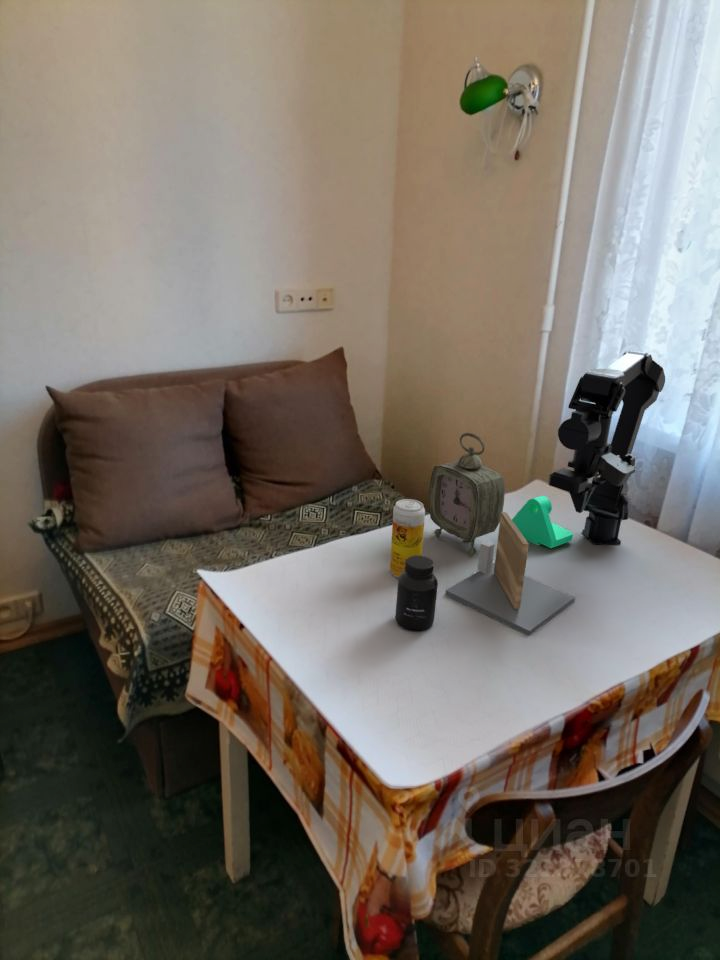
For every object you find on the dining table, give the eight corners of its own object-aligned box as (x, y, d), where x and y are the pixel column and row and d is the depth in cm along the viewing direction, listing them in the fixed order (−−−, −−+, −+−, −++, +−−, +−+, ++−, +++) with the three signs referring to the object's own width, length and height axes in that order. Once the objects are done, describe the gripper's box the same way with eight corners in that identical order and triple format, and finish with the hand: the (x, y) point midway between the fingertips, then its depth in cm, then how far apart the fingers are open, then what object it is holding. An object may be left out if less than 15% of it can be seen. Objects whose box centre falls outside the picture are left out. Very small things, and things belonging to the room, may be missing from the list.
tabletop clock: (425, 534, 149) (434, 428, 140) (455, 525, 154) (464, 421, 145) (472, 561, 138) (484, 447, 129) (502, 550, 144) (515, 439, 134)
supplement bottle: (408, 637, 113) (412, 575, 108) (388, 616, 118) (391, 556, 114) (441, 627, 116) (447, 566, 111) (420, 607, 121) (425, 549, 117)
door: (498, 571, 132) (506, 512, 127) (519, 608, 120) (528, 543, 115) (493, 571, 132) (501, 512, 127) (514, 608, 120) (523, 544, 115)
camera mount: (573, 544, 148) (580, 501, 144) (550, 552, 144) (556, 509, 140) (531, 524, 157) (537, 483, 153) (509, 531, 153) (514, 490, 149)
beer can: (385, 576, 131) (389, 507, 126) (395, 563, 137) (399, 496, 131) (414, 583, 129) (420, 513, 124) (424, 569, 134) (429, 501, 129)
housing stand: (491, 566, 137) (495, 535, 134) (574, 601, 125) (579, 568, 122) (443, 593, 126) (446, 561, 123) (528, 635, 114) (534, 600, 112)
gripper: (609, 459, 117) (595, 539, 122) (653, 438, 129) (638, 512, 135) (552, 443, 124) (541, 519, 129) (599, 425, 136) (587, 495, 142)
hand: (579, 512), depth 134 cm, fingers closed
